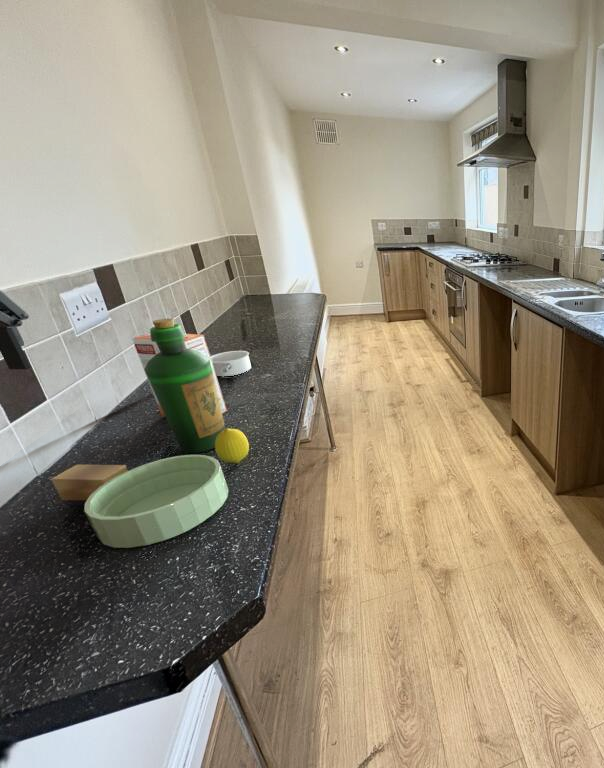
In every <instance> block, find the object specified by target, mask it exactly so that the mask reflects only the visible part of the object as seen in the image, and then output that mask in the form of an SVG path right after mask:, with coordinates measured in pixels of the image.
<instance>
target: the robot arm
mask: <svg viewBox="0 0 604 768" xmlns="http://www.w3.org/2000/svg"><path fill="white" fill-rule="evenodd" d="M29 317H30V316H29V314H28V312H27V311H26V310H24V308H22V307H21V306H19V305H18V304H17V303H16V302H15V301H14V300H12V299H11V298H10V297H9V296H8V295H7V294H5V293H4V292H3V291H2V290H1V289H0V354H1V356H2V357H3V360H4V361H5V363H6V366H7V368H8V370H29V369H31V368H32V366H31V364H30V362H29V359H28V358H27V356H26V354H25V352H24V350H23V348H22V347H25V341H24V339H23V337H22V335H21V332H20V331H19V329H18V328H19V327H21V326H23V320H28V319H29Z"/></svg>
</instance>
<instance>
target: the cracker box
mask: <svg viewBox="0 0 604 768" xmlns="http://www.w3.org/2000/svg"><path fill="white" fill-rule="evenodd" d="M185 335H186V336H185V337H184V338H183V340H184V344H185V348H189V349H192V350H195V351H199V352H200V353H201V354H203V355H204V356H205V357H207V358H208V359H209V360H210V364H211V368H212V372H213V377H214V381H215V385H216V390H217V394H218V398H219V403H220V407H221V411H222V415H223V414H225V413H227V412H228V408H227V405H226V403H225V399H224V396H223V393H222V390H221V387H220V383H219V380H218V376H216V373H215V370H214V367H213V364H212V360H211V357H210V356H211V354H210V351H209V348H208V344H207V341H206V338H205V335H204V334H197V333H196V334H195V333H185ZM131 340H132V343H133V345H134V348H135V350H136V353H137V356H138V358H139V360H140V363H141V365H142V368H143V370H144V369H145V367H146V365H147V363H148V361H149V360H150V359H152V358H153V357H154V356H155V355H156V354H158V353H159V352H160V350H159V348H158V346H157V344H156V342H152V341H151V334H150V332H149V333H146V334H141V335H138V336H135V337H133V338H132V339H131ZM144 374H145V375H146V373H145V372H144ZM146 379H147V381H148V384H149V387H150V389H151V392H152V394H153V397H154V400H155V402H156V405H157V408H158V410H159V413H160V415H161V417H162V418H166V416H165V414H164V412H163V410H162V408H161V406H160V403H159V401H158V399H157V397H156V395H155V393H154V390H153V388H152V386H151V384H150V382H149V379H148V377H147V375H146Z"/></svg>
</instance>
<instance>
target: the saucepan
mask: <svg viewBox="0 0 604 768" xmlns="http://www.w3.org/2000/svg"><path fill="white" fill-rule="evenodd" d="M249 355H250V352H249V351H247V350H232V351H231V350H229V351H224V352H219V353H215V354H213V355H210V357H211V360H212V364H213V367H214V370H215V373H216V376H217V377H218V376H222V377H221V378H225V377H224V376H234V375H238V374H241V373H244V372H246V371H247V372H248V371H249V370H251V369H252V365H251V360H250V356H249ZM247 372H246V373H247ZM244 374H245V373H244ZM238 376H239V375H238ZM234 377H235V376H234Z"/></svg>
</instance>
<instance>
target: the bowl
mask: <svg viewBox="0 0 604 768" xmlns="http://www.w3.org/2000/svg"><path fill="white" fill-rule="evenodd" d="M228 497H229V487H228V484H227V481H226V478H225V475H224V472H223V469H222V466H221V464H220V462H219V460H218V459H216V458H215V457H213V456H209V455H205V454H185V455H175V456H171V457H166V458H162V459H157V460H154V461H151V462H148V463H145V464H142V465H139V466H136V467H135V468H131V469H130V470H128V471H127V472H125V473H123V474H121V475H119V476H117V477H115V478H113V479H111V480H110V481H108V482H106V483H105V484H103V485H102V486H100V487H99V488H98V489H97V490H96V491H94V492H93V493H92V494H91V495H90V496H89V498H88V499H87V501H86V502H85V506H83V507H84V510H83V512H84V514H85V516H86V518H87V519H88V521H89V523H90V525H91V528H92V529H93V531H94V533H95V535H96V537H97V539H98V540H99V541H100V542H101V543H102V544H103V546H107V547H110V548H116V549H117V548H118V549H130V548H136V547H137V548H138V547H144V546H148V545H152V544H156V543H160V542H163V541H166V540H167V541H168V540H170V539H172V538H175V537H178V536H179V535H181V534H184V533H186V532H188V531H190V530H192V529H193V528H195V527H197V526H199V525H200V524H202V523H203V522H204V521H206V520H207V519H209V518H210V517H212V516H213V515H214V514H215V513H216V512H217V511H218V510H219V509H221V508H222V507H223V505H224V503H225V502H226V500H227V499H228Z"/></svg>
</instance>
